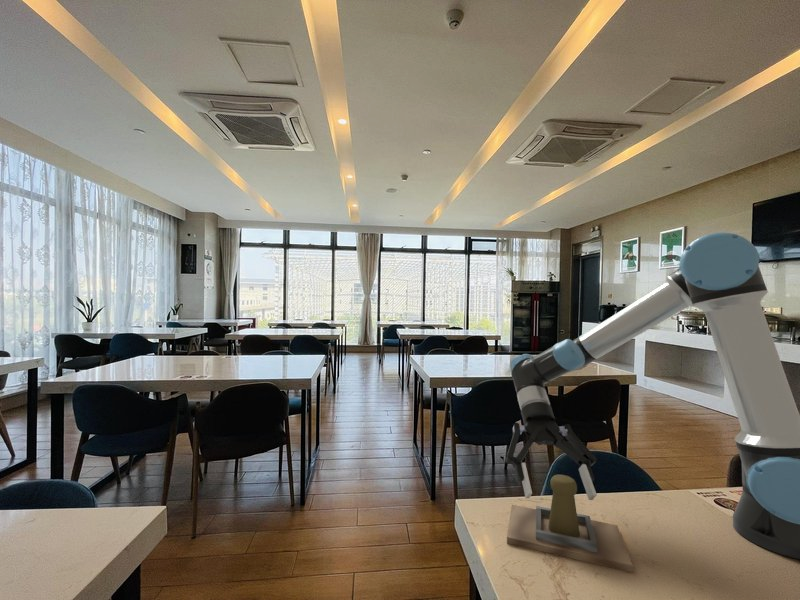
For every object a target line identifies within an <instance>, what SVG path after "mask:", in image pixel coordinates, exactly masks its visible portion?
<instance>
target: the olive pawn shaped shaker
mask: <svg viewBox="0 0 800 600" xmlns="http://www.w3.org/2000/svg"><path fill="white" fill-rule="evenodd" d="M549 484H550V490H552V498H551V506H550V509H551V511H550V519H549V530H550V531H551V532H552V533H557V534H562V535H567V536H571V537H576V538H578V537H579V536H580V532H579V525H578V518H577V514H578V511H577V506H576V498H575V495H576V494H577V493H578V492H577V491H578V485H577V481H575V479H574V478H572V477H571V476H569V475H567V474H566V475H565V474H554V475H553V476H551V479H550V482H549Z"/></svg>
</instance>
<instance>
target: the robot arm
mask: <svg viewBox="0 0 800 600" xmlns="http://www.w3.org/2000/svg"><path fill="white" fill-rule="evenodd" d="M759 264H760V255H759V251H758V249H757V248H756V246H755V245H754V244H753V243H752V242H751V241H750V240H749V239H747V238H746V237H744V236H741V235H738V234H735V233H731V232H713V233H708V234H705V235H702V236H700V237H698V238H696V239H695V240H693V241H691V242H690V244H689V243H688V245H687V246H686V247H685V249H684V250H683V252H682V253H681V255H680V259H679V265H678V266H679V267H678V268H677V269H676V270H675V271H674V272H672V273H670V274H669V275H667V276H666V281H665V282H664V283H662V284H660V285H659V286H657V287H656V288H655V289H652V290H651V291H650V292H648V293H647V294H645V295H643V296H641V297H640V298H639V299H637V300H635V301H633V302H632V303H631V304H629V305H627V306H626V307H624V308H623V309H621V310H619V311H618V312H616V313H615V314H612V316H610V317H608V318H606V319H605V320H603V321H602V322H601V323H599V324H597V325H596V326H594V327H592V328H591V329H589V330H587V331H586V332H584V333H583V334H581V335H579V336H578V337H577V338H574V339H573V340H572V339H569V338H567V339H564V340H562V341H559V342H557V343H555V344H554V345H553V346H551V347H549V348H547V349H546V350H544V351H542V352H540V353H538V354H537V355H535V356H533V355H532V354H529V353H523V354H522V355H520V354H519V355H516V356H514V357H513V358H512V359H511V361H510V363H509V367H510V377H511V378H512V380H513V381H512V382H513V385H514V389H515V392H516V397H517V402H518V405H519V409H520V414H521V417H522V421H523V425H522V424H520V423H518V422H517V421H515V423H513V427H512V438H511V441H510V445H509V447H508V451H507V454H506V457H505V459H504V461H505V463H506V464H507V465H509V464H510V465H512V467H513V468H514V471H515V474H516V479H517V481H521V483H522V488H523V493H524V497H525V499H530V498H531V496H532V495H533V491H532V487H531V481H530V478H529V473H528V470H527V466H526V465H527V464H526V462H523V460H524V459H525V457H526V455H527V454H528V452H529V451H530V449H531V448H532V446H533V444H534V443H535V444H537V446H542V445H546V446H552V445H553V446H555V448H558V449H559V450H560V451H562V452H563V454H565V455H566V456H567V457H569V458H570V459H571V460H572V461H573V462H575V464H577V465H578V466H579V468H578V472H579V476H580V478H581V481H582V484H583V487H584V490H585V494H586V496H587V498H588V499H587V500H589V501H593V500H594V499H595V498H596V497H597V496H598V495H597V492H596V489H595V486H594V484H593V483H594V481H595V475H594V473H593V471H592V468H591V467H592V466H594V465H595V464H596V462H597V458H596V456H595V455H594V454H593V453H592V452H591V450H589V448H588V447H587V446H586V445H585V444H584V442H583V441H582V440H581V439H580V438H579V437H578V436H577V435H576V433H575V432H574V431H573V429H572V426H571V424H569V423H566V424H564V425H561V426H559V425H558V424H557V423H556V417H555V416H554V412H553V408H552V405H551V402H550V398H549V396H548V394H547V390H546V387H545V385H546V384H547V383H550V382H552V381H554V380H555V379H557V378H560V377H562V376H564V375H566V374H568V373H569V374H570V373H571V372H575V371H580V370H582V369H584V368H586V367H587V366H588V365H589V364H590V363H592V362H595V361H596V360H597V359H599V358H601V357H603V356H604V355H606V354H608V353H610V352H611V351H613V350H615V349H617V348H619V347H620V346H622V345H624V344H625V343H627V342H629V341H631V340H633V339H634V338H636V337H638V336H639V335H642V334H643V333H645V332H647V330H650V329H652V328H653V327H655V326H658V324H661V323H662V322H664V321H665V320H667V319H670V318H671V317H672V316H674V315H676V314H678V313H679V312H681V311H683V310H685V309H686V308H689V307H694V308H697V309H698V310H701V311H702V312H704V315H705V318H706V321H707V325H708V328H709V330H710V334H711V337H712V340H713V343H714V346H715V350H716V353H717V355H718V359H719V362H720V365H721V368H722V372H723V376H724V378H725V381H726V385H727V388H728V390H729V393H730V397H731V399H732V403H733V406H734V410H735V414H736V416H737V419H738V422H739V425H740V428H741V429H740V432H738V433H737V434H736V435H735V437H734V441H735V444H736V447H737V452H738V454H739V457H740V460H741V461H740V462H741V483H742V484H741V485H742V493H741V496H740V498H739V500H738V502H737V503H736V507H735V509H734V511H733V513H732V526H733V528H734V530H735V531H736V532H737V533H738V534H740V536H742V537H743V538H745V539H747V540H748V541H750V542H751V543H753V544H755V545H758V546H760V547H762V548H764V549H766V550H768V551H770V552H774V553H777V554H780V555H782V556H785V557H789V558H792V559H796V560H800V412H799V410H798V407H797V404H796V401H795V399H794V396H793V393H792V392H793V391H792V389H791V387H790V385H789V381H788V379H787V375H786V373H785V370H784V367H783V364H782V360H781V359H780V356H779V353H778V350H777V346H776V344H775V341H774V337H773V335H772V332H771V329H770V327H769V326H770V325H769V323H768V321H767V318H766V315H765V312H764V310H763V307H762V305H761V301H762V299H764V298H765V296H766V295H767V294H768V293H769V292H768V289H767V287H766V286H767V285H766V283H765V279H764V278H763V277H764V276H763V274H762V272H761V269H760V265H759ZM523 432H524V433H525V434H526V435H527V436H528V439H527V441H526V442H525V444H524V446H523V447H522V449H521V450H520V451H519V453H518V455H517V456H516V457H515V456H514V455H515V452H516V447H517V444H518V441H519V438H520V435H522V433H523ZM566 440H567V441H566Z"/></svg>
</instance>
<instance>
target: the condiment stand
mask: <svg viewBox="0 0 800 600" xmlns="http://www.w3.org/2000/svg"><path fill="white" fill-rule="evenodd" d="M535 507H536V508H531V507H526V506H522V505H521V506H520V505H517V504H511V507H510V515H509V521H508V528H507V534H506V535H507V536H506V544H510V545H514V546H518V547H523V548H526V549H531V550H535V551H539V552H544V553H546V554H547V553H548V554H552V555H556V556H560V557H565V558H569V559H574V560H577V561H583V562H587V563H592V564H595V565H600V566H604V567H609V568H612V569H617V570H621V571H626V572H629V573H634V568H633V567H634V565H633V563H632V560H631V557H630V555H629V552H628V550H627V549H628V548H627V546H626V543H625V542H624V539H623V537H622V534H621V531H620V529H619V526H618V524H614V523H608V522H603V521H598V520H594V519H593V520H592V519H591V517H590V515H588V514H587V515H585V514H581V513H577V518H578V525H579V532H580V536H579V537H578V538H576V537H571V536H567V535H562V534H557V533H552V532H551V531H550V530H549V519H550V511H551V507H544V506H540V505H536V506H535Z"/></svg>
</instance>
